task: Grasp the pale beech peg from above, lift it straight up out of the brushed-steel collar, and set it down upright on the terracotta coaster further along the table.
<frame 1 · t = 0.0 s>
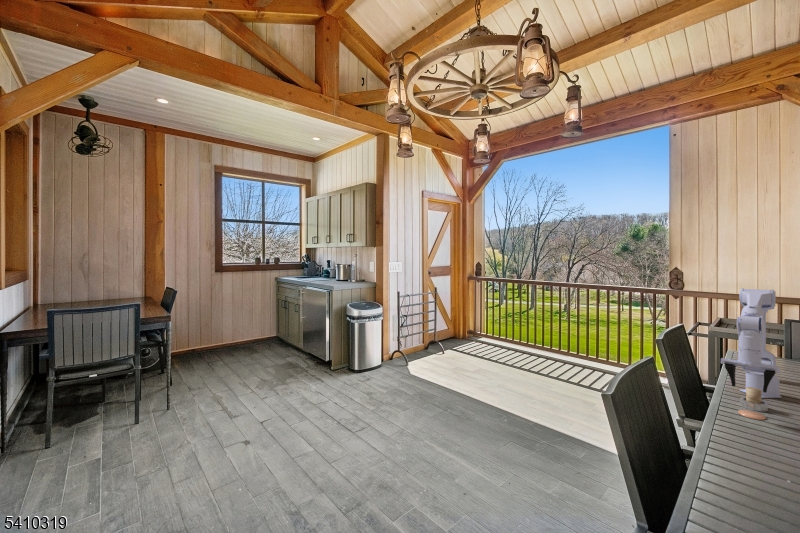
hand: (748, 388, 119), 11 cm above the table, tool pointing down, fingers open, 7 cm apart
peg: (753, 398, 127), in the collar
energy drink: (766, 380, 155), on the table
coaster: (751, 415, 121), on the table
collar: (753, 407, 128), on the table
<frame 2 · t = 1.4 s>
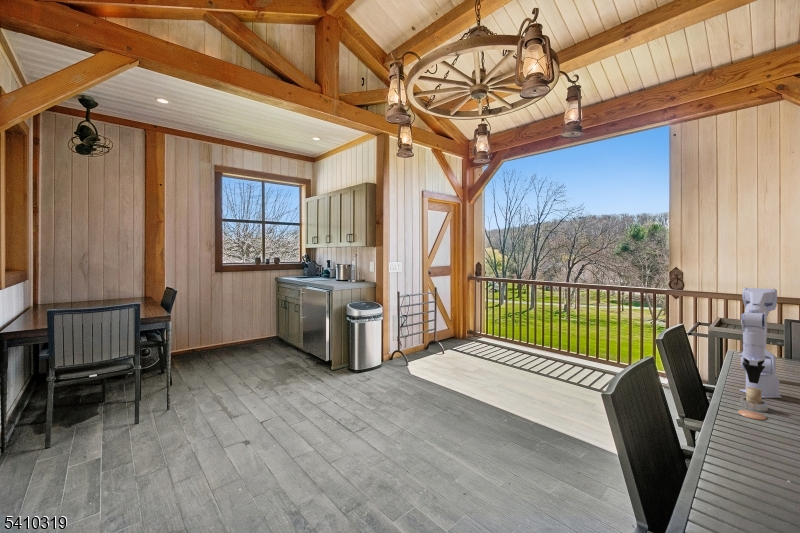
hand: (753, 380, 127), 10 cm above the table, tool pointing down, fingers open, 7 cm apart
nothing on the table moved.
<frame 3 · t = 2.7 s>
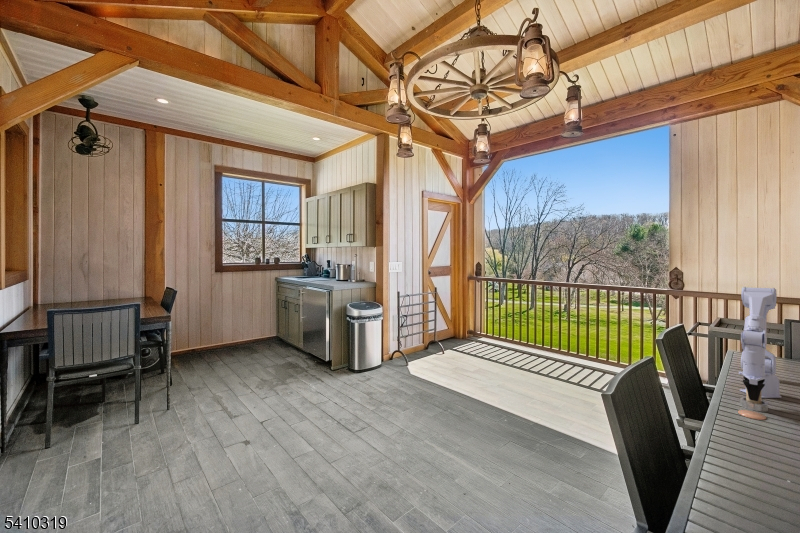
hand: (753, 398, 127), 3 cm above the table, tool pointing down, fingers closed on peg, 4 cm apart
peg: (753, 398, 127), in the collar, touching gripper
everything else where it was.
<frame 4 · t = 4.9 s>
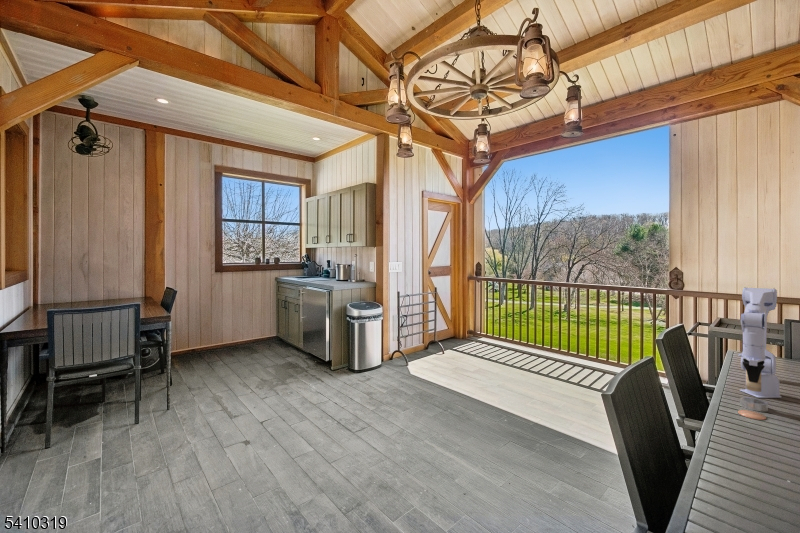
hand: (753, 380, 127), 10 cm above the table, tool pointing down, fingers closed on peg, 4 cm apart
peg: (753, 380, 127), point 10 cm above the table, touching gripper
everything else where it was.
when the fingers open (5 cm above the table, at t = 7.0 s): peg drops 1 cm, resting on coaster.
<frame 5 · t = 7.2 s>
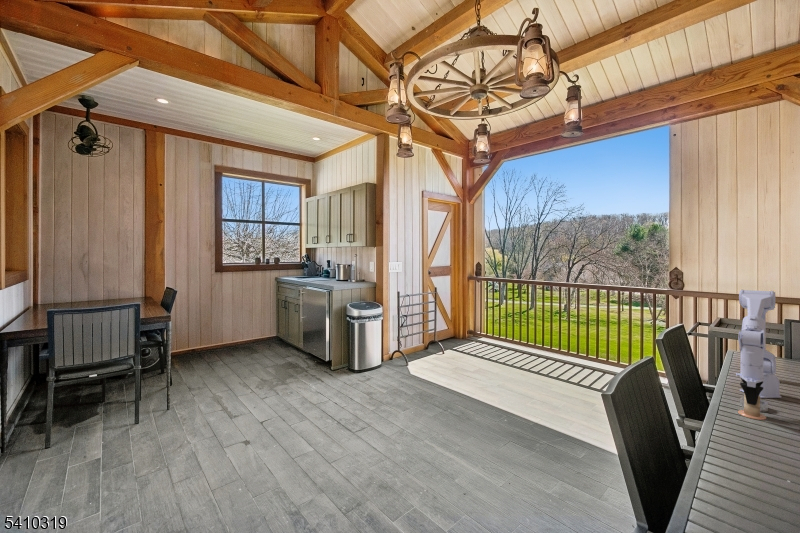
hand: (751, 401, 121), 5 cm above the table, tool pointing down, fingers open, 6 cm apart
peg: (752, 404, 121), on the coaster
everything else where it was.
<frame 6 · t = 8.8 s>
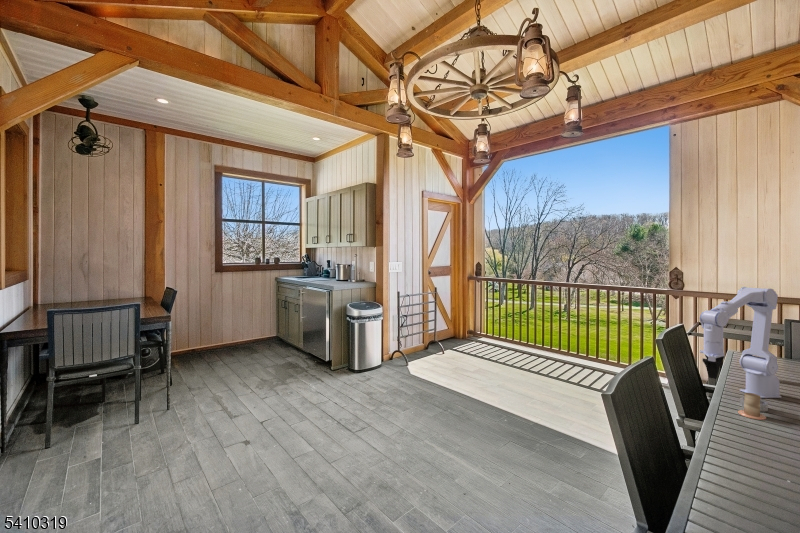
hand: (713, 375, 133), 10 cm above the table, tool pointing down, fingers open, 7 cm apart
nothing on the table moved.
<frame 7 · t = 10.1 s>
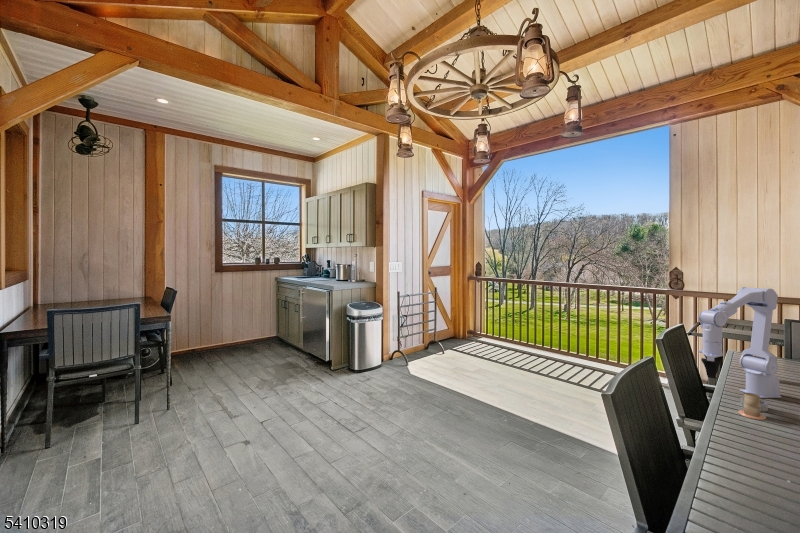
hand: (712, 375, 133), 10 cm above the table, tool pointing down, fingers open, 7 cm apart
nothing on the table moved.
at the end: peg 0.1 cm off-centre on the coaster, point 3.9 cm above the coaster's base; peg tilted 1°; the gripper is holding nothing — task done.
